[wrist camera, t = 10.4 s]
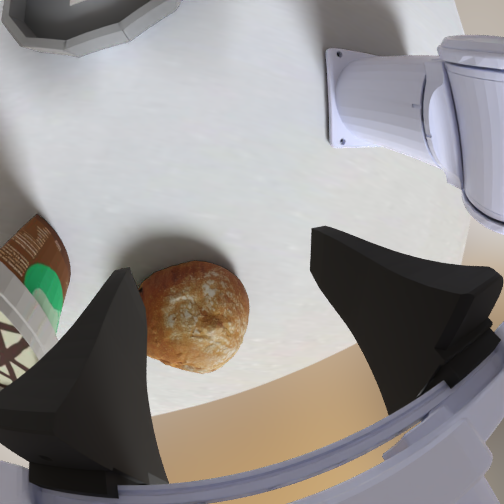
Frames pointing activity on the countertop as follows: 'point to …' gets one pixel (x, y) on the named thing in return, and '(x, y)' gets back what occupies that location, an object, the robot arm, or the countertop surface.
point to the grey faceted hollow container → (81, 23)
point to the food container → (30, 296)
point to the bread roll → (194, 315)
